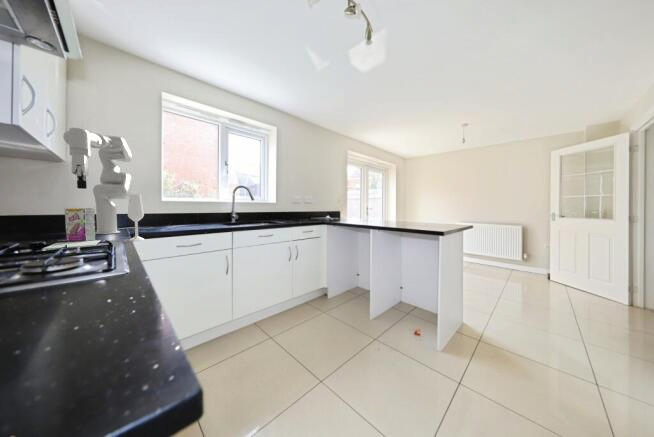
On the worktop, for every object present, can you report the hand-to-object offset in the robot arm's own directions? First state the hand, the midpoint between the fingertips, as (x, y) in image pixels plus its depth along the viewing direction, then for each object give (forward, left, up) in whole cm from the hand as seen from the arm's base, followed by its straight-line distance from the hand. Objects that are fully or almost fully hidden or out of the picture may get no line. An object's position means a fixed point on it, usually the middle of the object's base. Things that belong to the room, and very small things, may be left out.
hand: (82, 188), depth 122 cm
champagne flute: (+16, +22, -27) cm, 39 cm away
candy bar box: (+8, 0, -27) cm, 28 cm away
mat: (+21, 0, -27) cm, 34 cm away
